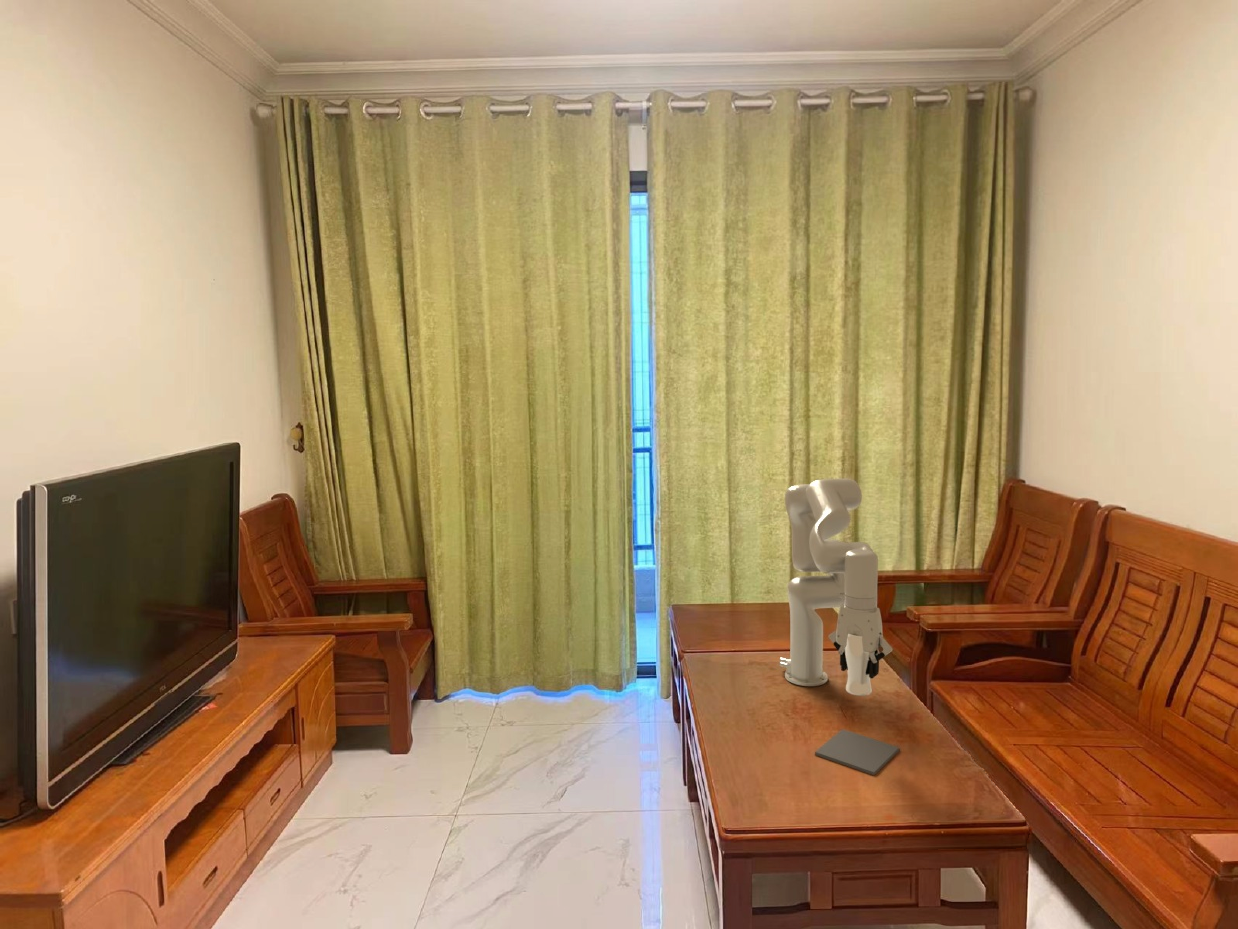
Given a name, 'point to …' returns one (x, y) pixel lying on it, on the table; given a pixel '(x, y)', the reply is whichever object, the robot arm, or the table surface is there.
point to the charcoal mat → (857, 751)
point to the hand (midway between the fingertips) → (859, 672)
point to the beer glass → (857, 667)
